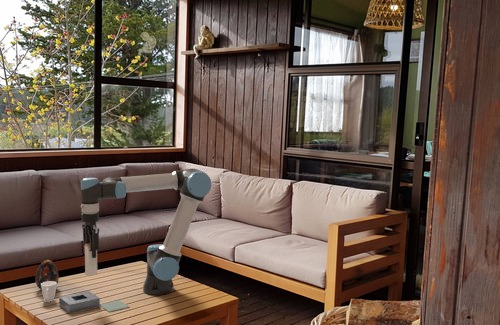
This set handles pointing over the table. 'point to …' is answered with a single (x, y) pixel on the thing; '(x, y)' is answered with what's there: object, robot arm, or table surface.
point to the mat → (114, 306)
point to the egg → (46, 273)
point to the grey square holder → (79, 302)
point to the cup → (48, 290)
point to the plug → (89, 269)
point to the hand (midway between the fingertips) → (91, 263)
